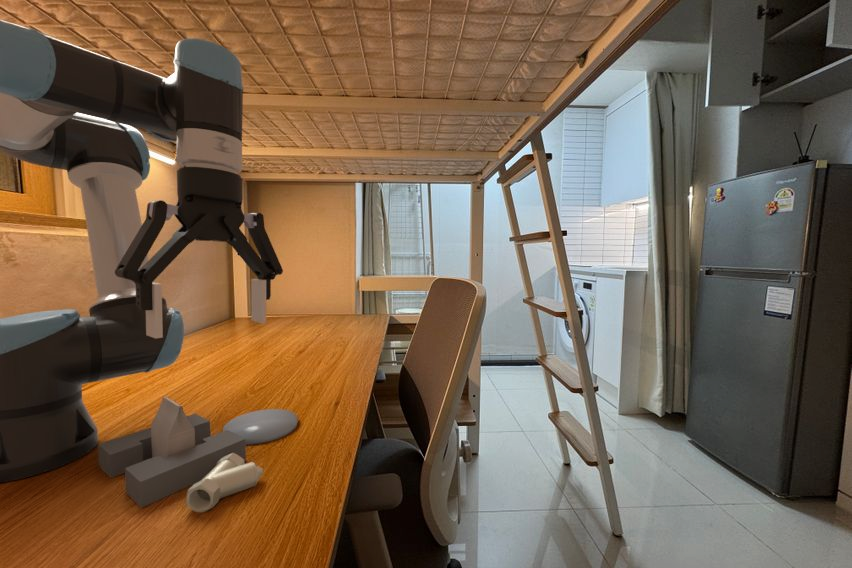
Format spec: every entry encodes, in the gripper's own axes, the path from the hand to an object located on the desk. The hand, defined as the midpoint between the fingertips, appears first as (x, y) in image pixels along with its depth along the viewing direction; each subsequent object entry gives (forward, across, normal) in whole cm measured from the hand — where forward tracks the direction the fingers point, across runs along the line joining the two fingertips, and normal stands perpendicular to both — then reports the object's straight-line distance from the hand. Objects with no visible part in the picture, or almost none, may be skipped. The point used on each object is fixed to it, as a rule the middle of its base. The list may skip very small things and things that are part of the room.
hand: (212, 328), depth 50 cm
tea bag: (+24, -1, +11) cm, 26 cm away
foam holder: (+23, -1, +11) cm, 26 cm away
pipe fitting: (+23, 0, -3) cm, 23 cm away
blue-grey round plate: (+23, +14, +11) cm, 30 cm away
